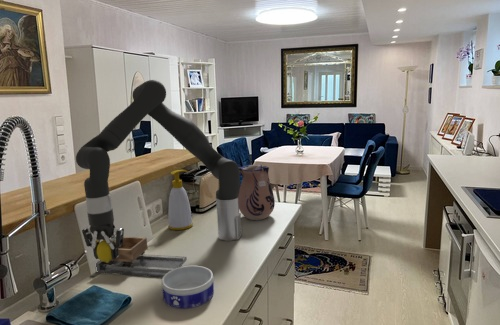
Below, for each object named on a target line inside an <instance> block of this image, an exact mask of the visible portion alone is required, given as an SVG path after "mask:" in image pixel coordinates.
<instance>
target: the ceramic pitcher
mask: <svg viewBox="0 0 500 325" xmlns="http://www.w3.org/2000/svg"><path fill="white" fill-rule="evenodd" d="M238 167H239V171H240V174H241V175H242V181H241V182H240V190H239V193H238V199H239V213H241V215H242V216H243V217H245V219H248V220H252V221H261V220H265V219H267V218H268V217H270V215H271V214H272V213H273V211H274V209H275V195H274V190H273V187H272V184H271V181H270V177H269V170H270V167H269V166H266V165H262V164H259V163H258V164H248V165H244V166H238Z"/></svg>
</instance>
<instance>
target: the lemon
mask: <svg viewBox="0 0 500 325" xmlns="http://www.w3.org/2000/svg"><path fill="white" fill-rule="evenodd" d="M97 256H98V258H99V259H98V260H101V261H103V262H106V263H108V262H109V261H110V260H111V259H112V253H111V247H110V245H109V244H108V243H107V242H106V240H100V243H99V244H98V246H97Z"/></svg>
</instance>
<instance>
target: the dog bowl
mask: <svg viewBox="0 0 500 325" xmlns="http://www.w3.org/2000/svg"><path fill="white" fill-rule="evenodd" d="M161 278H162V279H161V288H162V296H163V301H164V303H165V304H166V305H167V306H169V307H171V308H174V309H179V310H180V309H181V310H182V309H183V310H185V309H192V308H197V307H199V306H202V305H204V304H207V303H208V302H209V301H210V300H211V299H212V298H213V296H214V293H215V290H214V287H215V285H214V274H213V271H212V270H211V269H210V268H207V267H205V266H202V265H201V266H200V265H185V266H181V267H179V268H176V269H173V270H171V271H169V272H168V273H166V274H165V275H164V276H163V277H161Z"/></svg>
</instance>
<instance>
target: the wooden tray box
mask: <svg viewBox="0 0 500 325" xmlns="http://www.w3.org/2000/svg"><path fill="white" fill-rule="evenodd" d="M148 249H149V248H148V240H147V237H139V236H135V237H133V236H124V237H123V244H122V245H121V246H120V247H118V252H119V256H118V258H117V259H115V260H113V259H111V260H110V261H109V262H108V264H109V265H112V264H113V263H114V261H125V262H126V263H125V264H126V265H127V266H130V265H132V262H133V261H134V260H135V259H136V258H137V257H139V256H140V255H143V254H145V252H146V251H147V250H148Z"/></svg>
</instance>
